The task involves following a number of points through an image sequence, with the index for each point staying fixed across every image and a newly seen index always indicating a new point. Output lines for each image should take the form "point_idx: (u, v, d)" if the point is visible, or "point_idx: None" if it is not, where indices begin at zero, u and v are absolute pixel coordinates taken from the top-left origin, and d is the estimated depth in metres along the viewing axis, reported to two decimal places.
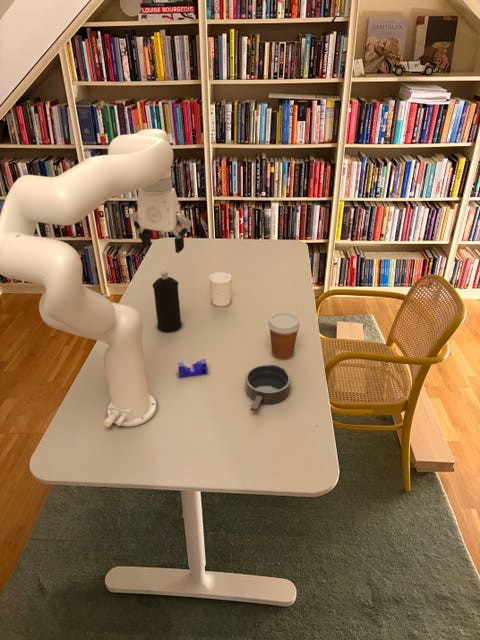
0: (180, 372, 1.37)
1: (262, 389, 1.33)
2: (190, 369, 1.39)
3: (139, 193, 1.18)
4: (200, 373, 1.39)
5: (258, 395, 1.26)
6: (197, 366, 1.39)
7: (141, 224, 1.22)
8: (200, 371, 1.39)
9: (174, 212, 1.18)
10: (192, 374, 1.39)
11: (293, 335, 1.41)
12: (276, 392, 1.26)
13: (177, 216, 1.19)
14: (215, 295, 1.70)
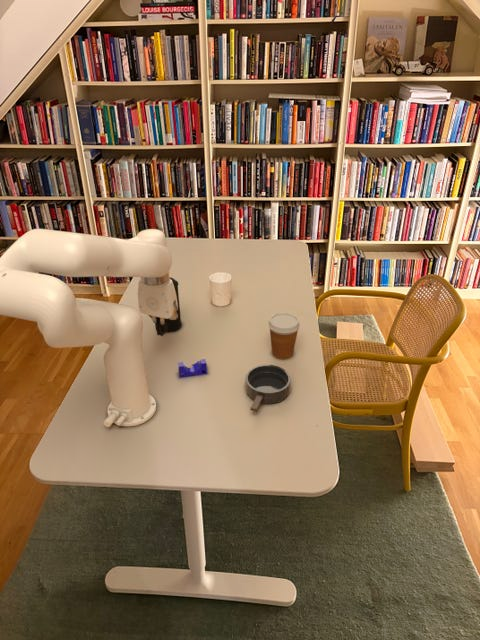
0: (180, 372, 1.37)
1: (262, 389, 1.33)
2: (190, 369, 1.39)
3: (139, 285, 1.28)
4: (200, 373, 1.39)
5: (258, 395, 1.26)
6: (197, 366, 1.39)
7: (141, 310, 1.32)
8: (200, 371, 1.39)
9: (171, 302, 1.28)
10: (192, 374, 1.39)
11: (293, 335, 1.41)
12: (276, 392, 1.26)
13: None
14: (215, 295, 1.70)
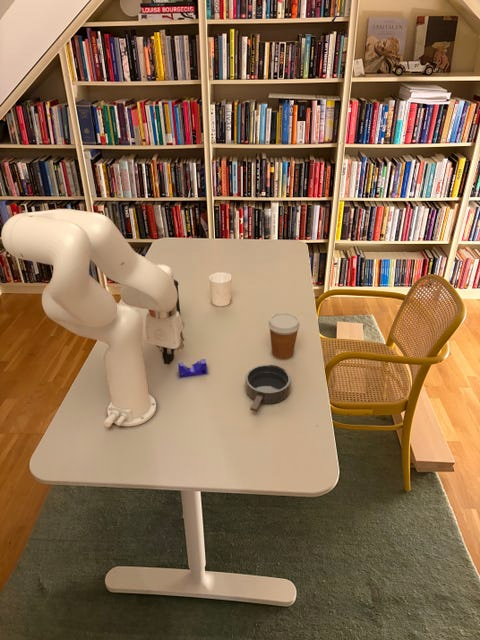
0: (180, 372, 1.37)
1: (262, 389, 1.33)
2: (190, 369, 1.39)
3: (147, 317, 1.33)
4: (200, 373, 1.39)
5: (258, 395, 1.26)
6: (197, 366, 1.39)
7: (149, 341, 1.37)
8: (200, 371, 1.39)
9: (178, 333, 1.33)
10: (192, 374, 1.39)
11: (293, 335, 1.41)
12: (276, 392, 1.26)
13: None
14: (215, 295, 1.70)
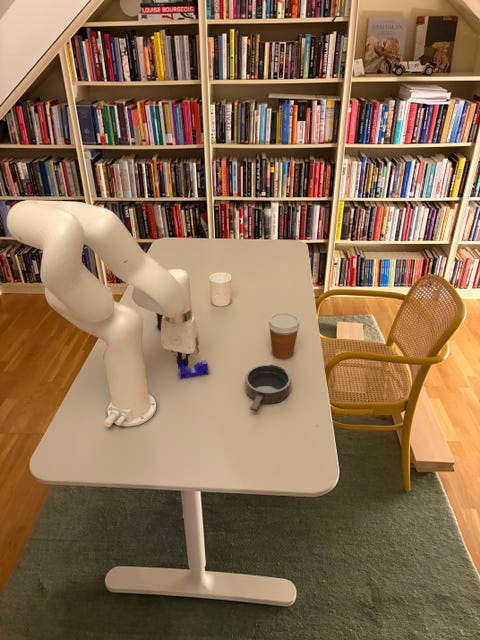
0: (181, 373, 1.37)
1: (262, 389, 1.33)
2: (191, 370, 1.39)
3: (162, 321, 1.31)
4: (201, 373, 1.39)
5: (258, 395, 1.26)
6: (198, 367, 1.39)
7: (164, 346, 1.35)
8: (201, 371, 1.38)
9: (194, 338, 1.32)
10: (193, 375, 1.38)
11: (293, 335, 1.41)
12: (276, 392, 1.26)
13: None
14: (215, 295, 1.70)
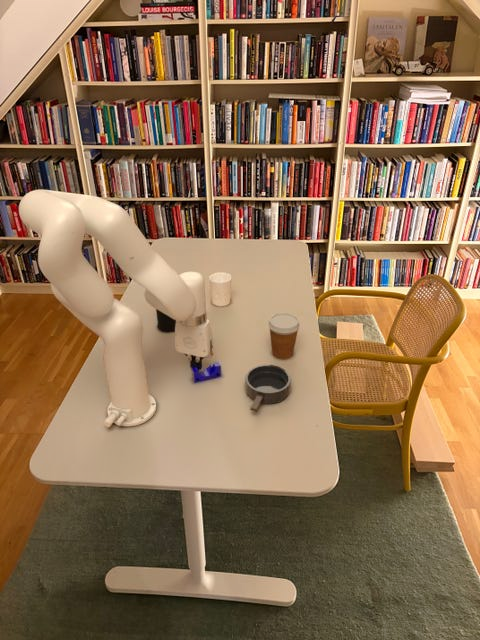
0: (195, 377, 1.35)
1: (262, 389, 1.33)
2: (204, 373, 1.37)
3: (177, 325, 1.30)
4: (214, 376, 1.38)
5: (258, 395, 1.26)
6: (211, 369, 1.38)
7: (177, 349, 1.34)
8: (214, 374, 1.37)
9: (208, 341, 1.31)
10: (206, 378, 1.37)
11: (293, 335, 1.41)
12: (276, 392, 1.26)
13: None
14: (215, 295, 1.70)
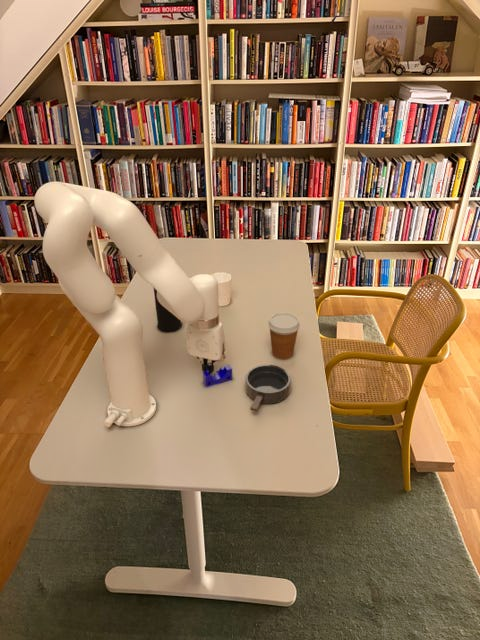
0: (207, 381, 1.34)
1: (262, 389, 1.33)
2: (215, 377, 1.36)
3: (189, 327, 1.29)
4: (226, 379, 1.36)
5: (258, 395, 1.26)
6: (221, 373, 1.37)
7: (189, 352, 1.33)
8: (226, 377, 1.36)
9: (221, 344, 1.29)
10: (218, 382, 1.36)
11: (293, 335, 1.41)
12: (276, 392, 1.26)
13: None
14: None
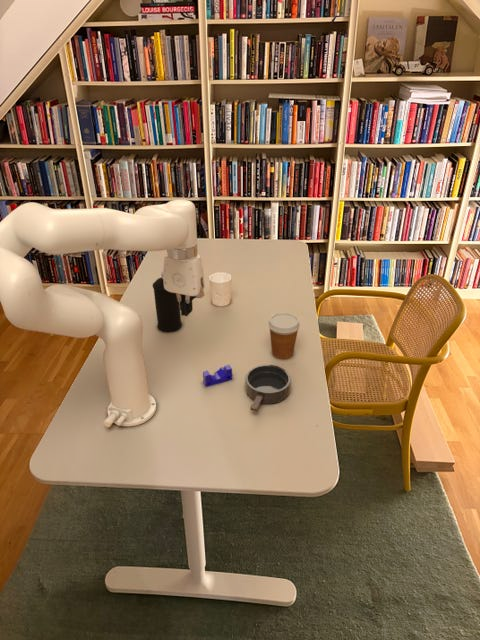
0: (207, 381, 1.34)
1: (262, 389, 1.33)
2: (215, 377, 1.36)
3: (165, 259, 1.21)
4: (226, 379, 1.36)
5: (258, 395, 1.26)
6: (221, 373, 1.37)
7: (166, 287, 1.25)
8: (226, 377, 1.36)
9: (199, 278, 1.22)
10: (218, 382, 1.36)
11: (293, 335, 1.41)
12: (276, 392, 1.26)
13: None
14: (215, 295, 1.70)
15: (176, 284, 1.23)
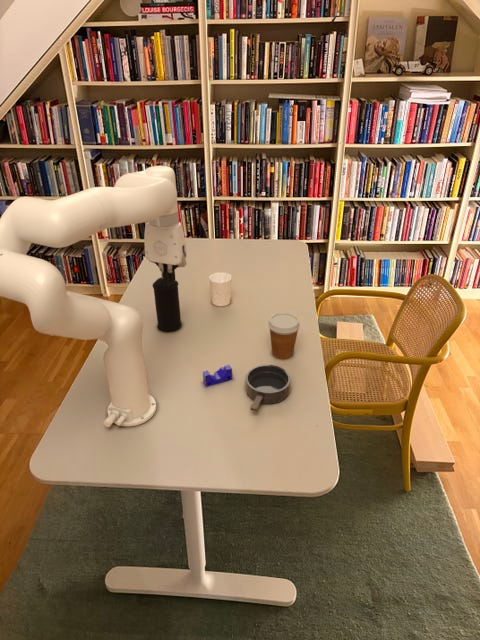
0: (207, 381, 1.34)
1: (262, 389, 1.33)
2: (215, 377, 1.36)
3: (146, 227, 1.20)
4: (226, 379, 1.36)
5: (258, 395, 1.26)
6: (221, 373, 1.37)
7: (148, 257, 1.24)
8: (226, 377, 1.36)
9: (180, 246, 1.20)
10: (218, 382, 1.36)
11: (293, 335, 1.41)
12: (276, 392, 1.26)
13: None
14: (215, 295, 1.70)
15: (158, 253, 1.22)
